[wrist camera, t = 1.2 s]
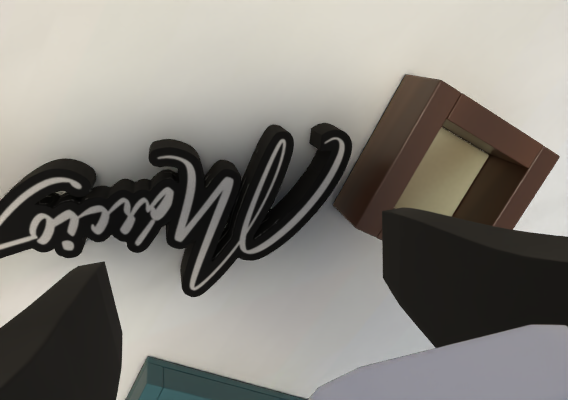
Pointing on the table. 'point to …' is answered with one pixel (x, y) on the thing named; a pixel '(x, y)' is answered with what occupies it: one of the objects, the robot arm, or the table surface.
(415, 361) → the robot arm
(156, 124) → the table surface
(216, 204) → the nameplate
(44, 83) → the table surface
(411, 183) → the frame
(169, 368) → the holder
